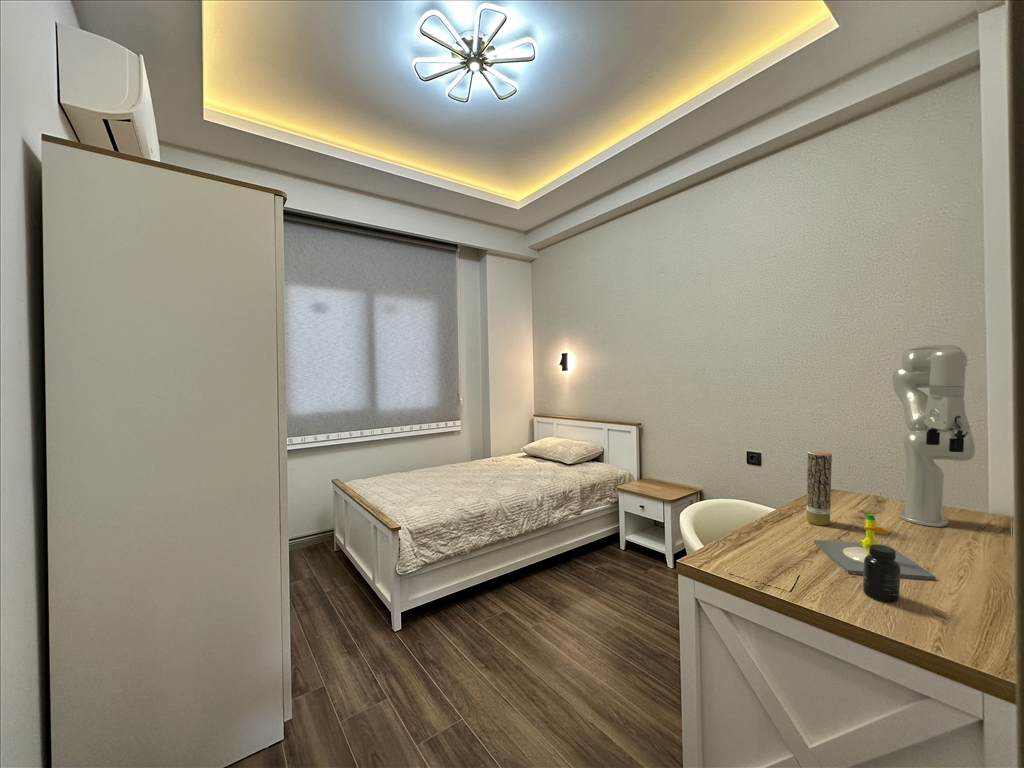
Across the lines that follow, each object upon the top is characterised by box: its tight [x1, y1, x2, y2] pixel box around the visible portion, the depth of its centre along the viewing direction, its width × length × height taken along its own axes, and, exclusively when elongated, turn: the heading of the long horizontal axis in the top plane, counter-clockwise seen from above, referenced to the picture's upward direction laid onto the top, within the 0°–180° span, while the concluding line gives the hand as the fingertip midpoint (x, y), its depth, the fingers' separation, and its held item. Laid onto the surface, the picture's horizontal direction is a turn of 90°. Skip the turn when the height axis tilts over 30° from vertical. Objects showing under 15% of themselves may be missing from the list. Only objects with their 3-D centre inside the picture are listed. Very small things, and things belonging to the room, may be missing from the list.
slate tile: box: [813, 539, 936, 581], centre depth 127 cm, size 20×20×1 cm
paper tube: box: [806, 449, 833, 526], centre depth 154 cm, size 7×7×25 cm
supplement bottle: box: [862, 544, 901, 604], centre depth 107 cm, size 7×7×12 cm
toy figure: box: [857, 513, 891, 556], centre depth 125 cm, size 7×4×12 cm, turn 53°
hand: (944, 448), depth 134 cm, fingers open, 9 cm apart
